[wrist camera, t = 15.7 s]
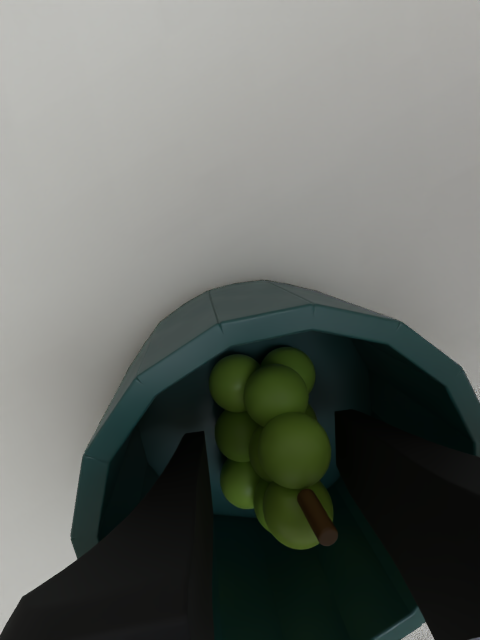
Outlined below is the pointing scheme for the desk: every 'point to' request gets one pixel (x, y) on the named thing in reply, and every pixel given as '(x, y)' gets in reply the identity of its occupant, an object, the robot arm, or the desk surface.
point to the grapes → (274, 445)
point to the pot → (353, 529)
